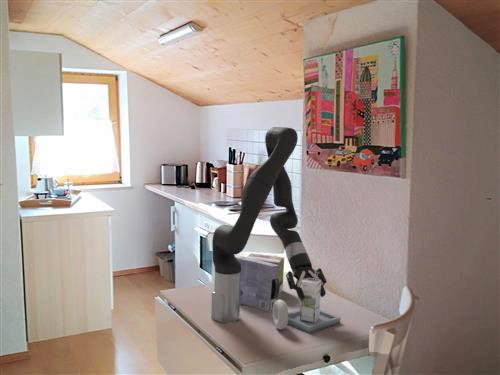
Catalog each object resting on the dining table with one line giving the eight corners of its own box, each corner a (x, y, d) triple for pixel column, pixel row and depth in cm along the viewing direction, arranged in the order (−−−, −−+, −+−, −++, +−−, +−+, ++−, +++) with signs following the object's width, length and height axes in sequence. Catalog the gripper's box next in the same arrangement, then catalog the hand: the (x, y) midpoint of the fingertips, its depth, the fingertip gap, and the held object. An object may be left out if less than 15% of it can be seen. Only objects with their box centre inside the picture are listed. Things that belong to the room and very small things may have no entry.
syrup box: (319, 318, 184) (321, 278, 182) (314, 323, 178) (316, 283, 177) (304, 315, 186) (306, 276, 184) (299, 320, 181) (301, 280, 179)
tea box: (242, 293, 212) (243, 258, 210) (249, 286, 221) (250, 252, 220) (277, 297, 208) (279, 261, 206) (283, 290, 217) (284, 256, 215)
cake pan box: (279, 309, 194) (281, 264, 192) (272, 313, 189) (274, 266, 187) (239, 298, 205) (240, 255, 203) (231, 301, 201) (232, 257, 199)
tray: (309, 333, 172) (309, 327, 172) (280, 320, 182) (280, 315, 182) (340, 322, 182) (340, 317, 182) (310, 311, 193) (311, 306, 193)
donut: (288, 334, 171) (290, 304, 170) (278, 334, 170) (280, 305, 169) (280, 322, 181) (281, 295, 179) (270, 323, 180) (272, 295, 179)
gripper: (284, 253, 183) (300, 294, 174) (318, 250, 189) (334, 290, 180) (277, 264, 189) (291, 304, 180) (310, 261, 195) (325, 300, 186)
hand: (313, 297), depth 180 cm, fingers open, 8 cm apart
